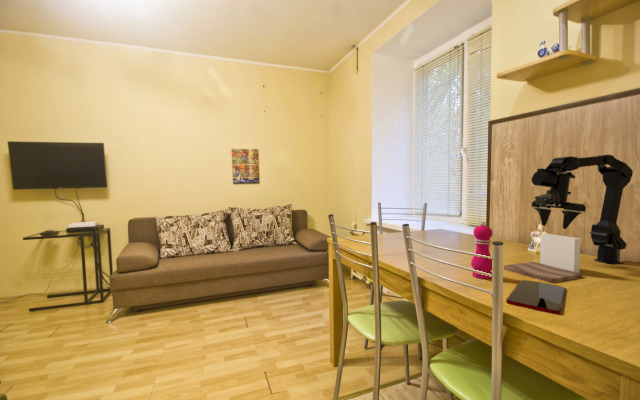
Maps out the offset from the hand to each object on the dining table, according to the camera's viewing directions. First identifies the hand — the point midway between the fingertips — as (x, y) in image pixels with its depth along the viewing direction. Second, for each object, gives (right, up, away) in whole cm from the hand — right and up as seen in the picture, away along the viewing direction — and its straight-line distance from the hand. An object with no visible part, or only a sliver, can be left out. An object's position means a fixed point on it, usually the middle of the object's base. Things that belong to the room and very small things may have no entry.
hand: (553, 227), depth 120 cm
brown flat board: (-12, -16, -9) cm, 22 cm away
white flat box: (-3, -16, -6) cm, 17 cm away
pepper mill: (-35, -17, -12) cm, 41 cm away
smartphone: (-29, -18, -31) cm, 46 cm away
